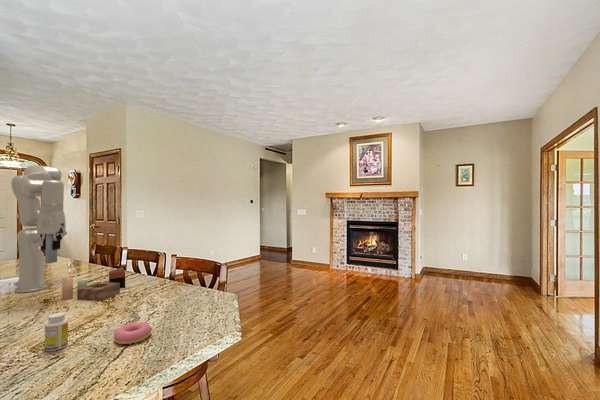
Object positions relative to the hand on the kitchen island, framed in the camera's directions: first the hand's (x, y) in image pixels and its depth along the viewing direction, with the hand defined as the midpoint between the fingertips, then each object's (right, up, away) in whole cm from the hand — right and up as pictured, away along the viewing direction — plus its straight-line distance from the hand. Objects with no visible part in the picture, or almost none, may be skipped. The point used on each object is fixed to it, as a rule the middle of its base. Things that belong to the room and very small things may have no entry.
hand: (51, 248), depth 130 cm
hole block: (+14, -25, +11) cm, 30 cm away
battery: (+13, -25, +25) cm, 38 cm away
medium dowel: (+1, -24, +8) cm, 26 cm away
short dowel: (+2, -25, +15) cm, 29 cm away
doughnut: (+55, -25, -32) cm, 68 cm away
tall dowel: (0, -6, 0) cm, 6 cm away
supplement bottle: (+35, -24, -39) cm, 58 cm away
